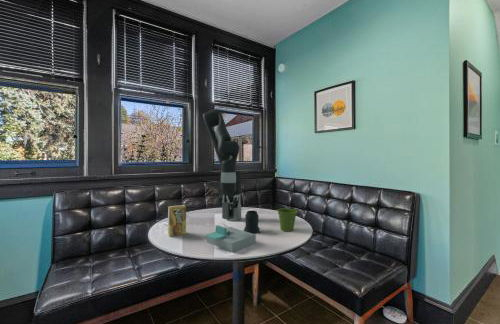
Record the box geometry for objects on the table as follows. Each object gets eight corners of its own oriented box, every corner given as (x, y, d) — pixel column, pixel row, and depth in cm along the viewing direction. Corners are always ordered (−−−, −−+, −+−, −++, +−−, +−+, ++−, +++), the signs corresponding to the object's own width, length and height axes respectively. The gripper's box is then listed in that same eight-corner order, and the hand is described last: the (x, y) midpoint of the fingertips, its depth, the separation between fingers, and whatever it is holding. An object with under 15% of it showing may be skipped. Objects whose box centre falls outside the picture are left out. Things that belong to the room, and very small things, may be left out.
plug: (228, 216, 115) (228, 197, 115) (233, 218, 113) (233, 198, 113) (222, 218, 112) (222, 198, 112) (227, 219, 110) (227, 199, 110)
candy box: (184, 232, 127) (184, 204, 127) (186, 234, 123) (186, 206, 123) (167, 234, 122) (167, 206, 122) (169, 236, 119) (169, 207, 118)
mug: (259, 234, 124) (259, 213, 124) (242, 233, 125) (242, 213, 125) (260, 227, 136) (260, 209, 135) (245, 227, 137) (245, 208, 137)
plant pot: (296, 234, 124) (296, 213, 124) (274, 231, 128) (275, 211, 128) (298, 227, 136) (298, 209, 135) (279, 225, 139) (279, 207, 139)
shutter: (217, 233, 112) (217, 225, 112) (227, 236, 107) (227, 228, 107) (205, 236, 107) (205, 228, 107) (215, 240, 102) (215, 231, 102)
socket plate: (230, 234, 123) (230, 226, 123) (255, 242, 111) (255, 234, 111) (206, 242, 112) (206, 234, 111) (231, 252, 99) (231, 243, 99)
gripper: (213, 180, 114) (213, 214, 115) (232, 183, 105) (232, 220, 105) (224, 179, 120) (224, 212, 120) (244, 181, 110) (243, 217, 111)
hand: (228, 215), depth 113 cm, fingers closed on plug, 4 cm apart
